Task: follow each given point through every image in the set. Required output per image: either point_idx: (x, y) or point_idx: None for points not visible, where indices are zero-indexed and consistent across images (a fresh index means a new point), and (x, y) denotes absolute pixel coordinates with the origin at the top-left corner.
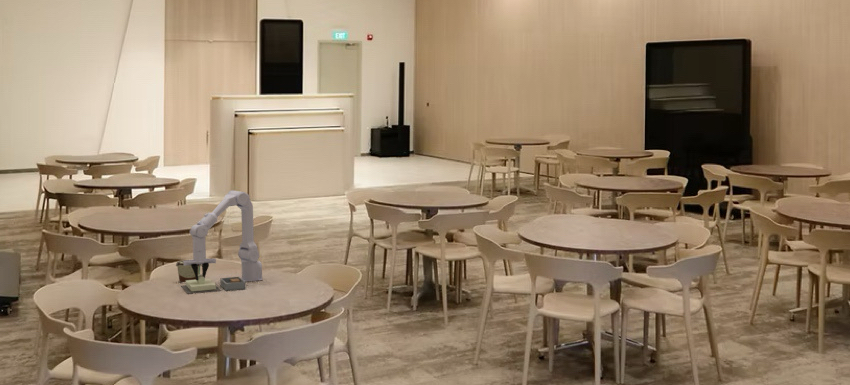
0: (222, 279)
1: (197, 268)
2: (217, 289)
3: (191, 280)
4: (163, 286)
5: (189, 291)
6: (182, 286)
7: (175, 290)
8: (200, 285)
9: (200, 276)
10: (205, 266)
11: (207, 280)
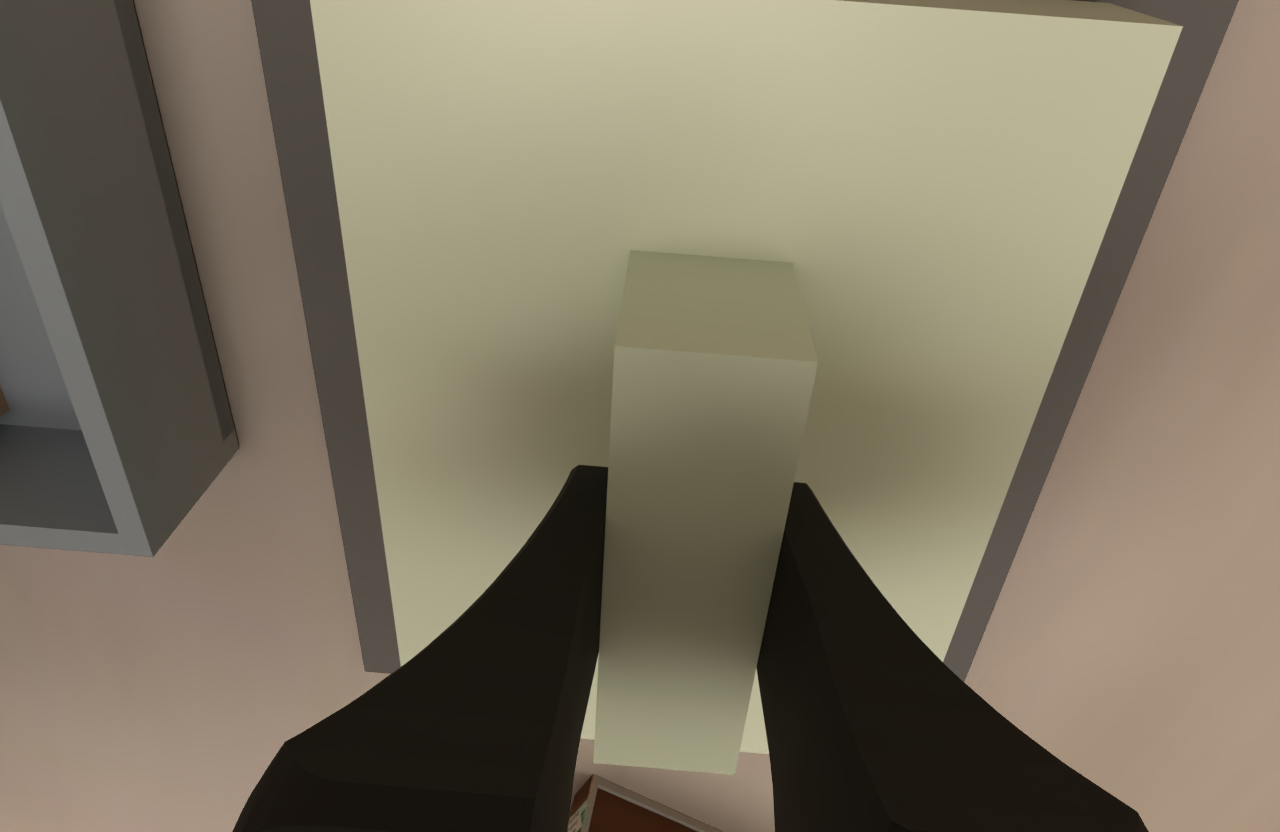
0: (78, 411)
1: (884, 763)
2: None
3: None
4: (1179, 807)
5: None
6: (953, 661)
7: (1218, 480)
8: (824, 86)
9: (695, 552)
10: (454, 771)
11: (474, 584)
